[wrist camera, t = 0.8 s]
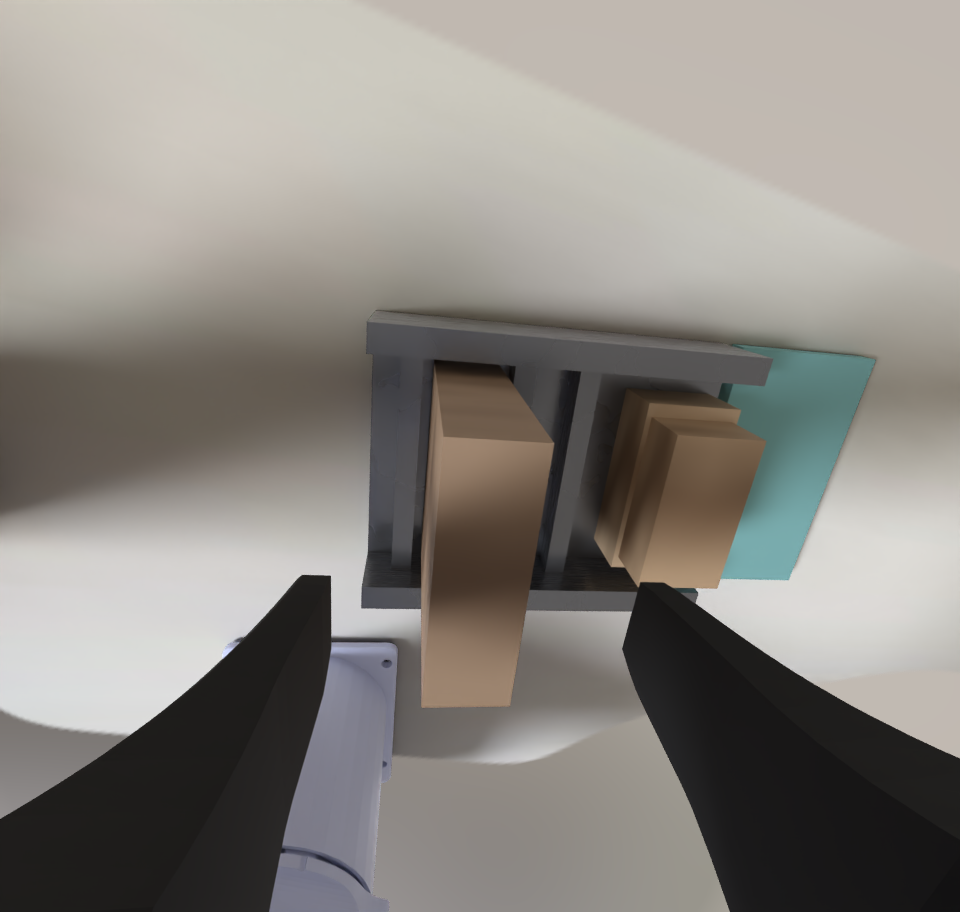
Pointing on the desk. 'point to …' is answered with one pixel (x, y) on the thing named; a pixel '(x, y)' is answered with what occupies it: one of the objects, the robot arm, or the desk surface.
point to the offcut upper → (688, 501)
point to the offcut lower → (631, 447)
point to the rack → (562, 413)
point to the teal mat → (790, 451)
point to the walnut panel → (478, 533)
